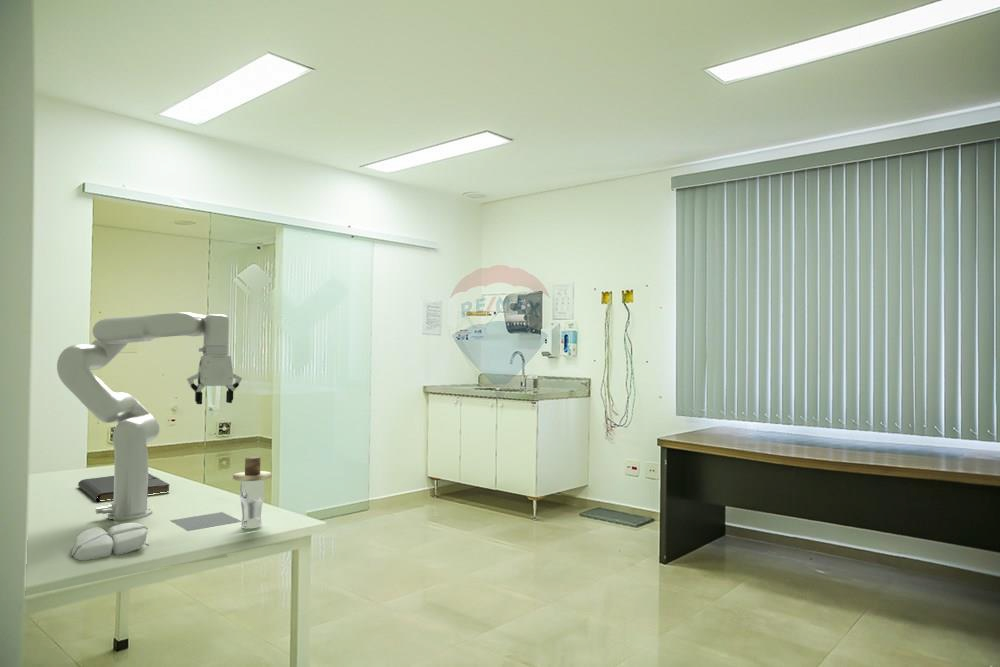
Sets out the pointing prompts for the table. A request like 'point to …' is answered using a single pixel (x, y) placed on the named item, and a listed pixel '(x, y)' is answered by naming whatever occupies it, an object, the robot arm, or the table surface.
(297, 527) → the table surface
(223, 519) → the mat
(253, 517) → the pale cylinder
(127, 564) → the table surface
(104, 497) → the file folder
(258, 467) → the lid
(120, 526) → the lung model
